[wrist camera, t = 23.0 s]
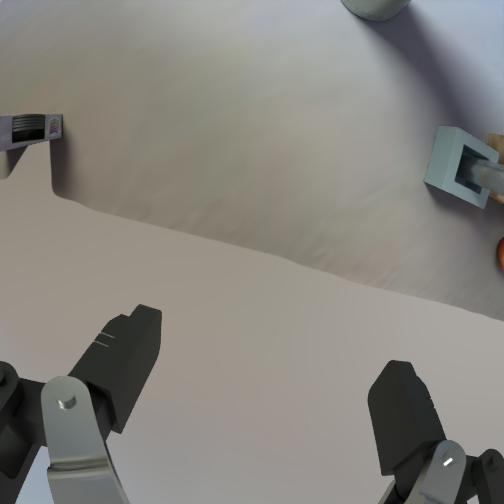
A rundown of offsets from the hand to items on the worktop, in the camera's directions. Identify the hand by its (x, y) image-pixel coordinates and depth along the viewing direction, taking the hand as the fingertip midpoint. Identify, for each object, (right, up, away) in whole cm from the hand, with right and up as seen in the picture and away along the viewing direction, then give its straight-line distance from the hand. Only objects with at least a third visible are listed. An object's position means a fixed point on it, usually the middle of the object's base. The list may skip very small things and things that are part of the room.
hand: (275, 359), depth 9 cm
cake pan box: (-41, +26, +30) cm, 57 cm away
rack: (+30, +17, +26) cm, 43 cm away
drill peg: (+30, +16, +25) cm, 42 cm away
